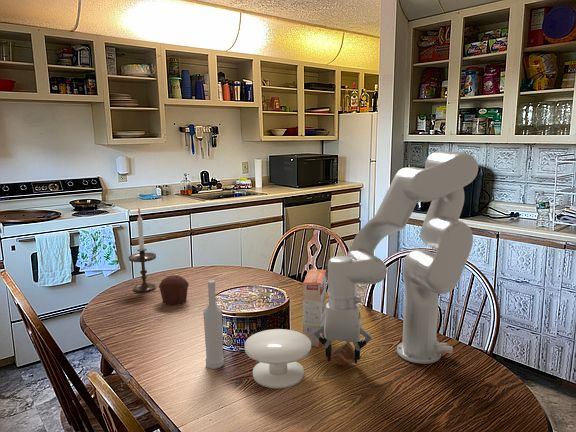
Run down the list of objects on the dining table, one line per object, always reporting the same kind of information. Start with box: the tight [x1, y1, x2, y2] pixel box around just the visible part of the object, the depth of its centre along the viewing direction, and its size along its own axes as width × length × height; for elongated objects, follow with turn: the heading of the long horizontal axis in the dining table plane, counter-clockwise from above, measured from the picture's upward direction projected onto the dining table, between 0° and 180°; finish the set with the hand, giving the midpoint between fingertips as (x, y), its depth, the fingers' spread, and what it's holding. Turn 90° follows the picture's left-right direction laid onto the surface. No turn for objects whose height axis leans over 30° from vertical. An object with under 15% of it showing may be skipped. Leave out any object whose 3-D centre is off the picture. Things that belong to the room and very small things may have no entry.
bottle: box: [202, 279, 225, 370], centre depth 126 cm, size 5×5×25 cm
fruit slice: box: [330, 342, 355, 366], centre depth 126 cm, size 8×7×5 cm
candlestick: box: [128, 207, 157, 294], centre depth 186 cm, size 11×11×35 cm
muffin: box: [158, 275, 190, 306], centre depth 175 cm, size 12×11×10 cm
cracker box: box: [302, 268, 328, 348], centre depth 142 cm, size 14×6×21 cm, turn 168°
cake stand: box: [244, 328, 312, 390], centre depth 122 cm, size 18×18×9 cm
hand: (342, 359), depth 127 cm, fingers closed on fruit slice, 7 cm apart
